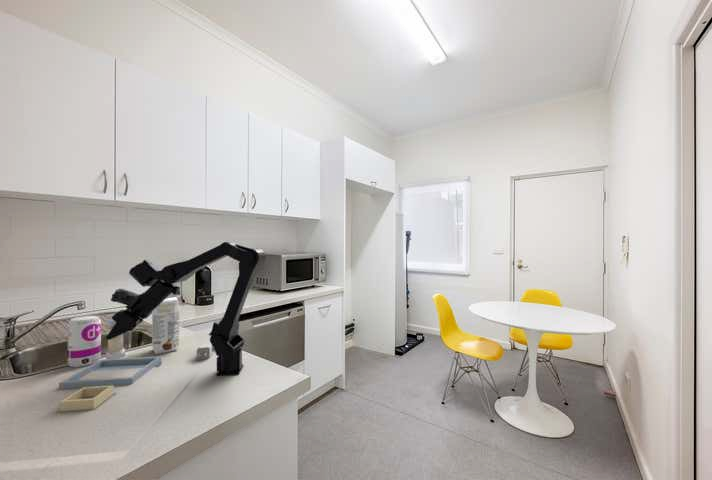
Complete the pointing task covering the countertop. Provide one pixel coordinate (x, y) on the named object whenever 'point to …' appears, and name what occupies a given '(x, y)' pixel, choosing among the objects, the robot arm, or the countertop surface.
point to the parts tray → (112, 364)
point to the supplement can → (84, 341)
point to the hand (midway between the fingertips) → (110, 336)
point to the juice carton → (165, 326)
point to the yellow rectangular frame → (86, 399)
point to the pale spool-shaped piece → (114, 343)
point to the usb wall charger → (204, 351)
